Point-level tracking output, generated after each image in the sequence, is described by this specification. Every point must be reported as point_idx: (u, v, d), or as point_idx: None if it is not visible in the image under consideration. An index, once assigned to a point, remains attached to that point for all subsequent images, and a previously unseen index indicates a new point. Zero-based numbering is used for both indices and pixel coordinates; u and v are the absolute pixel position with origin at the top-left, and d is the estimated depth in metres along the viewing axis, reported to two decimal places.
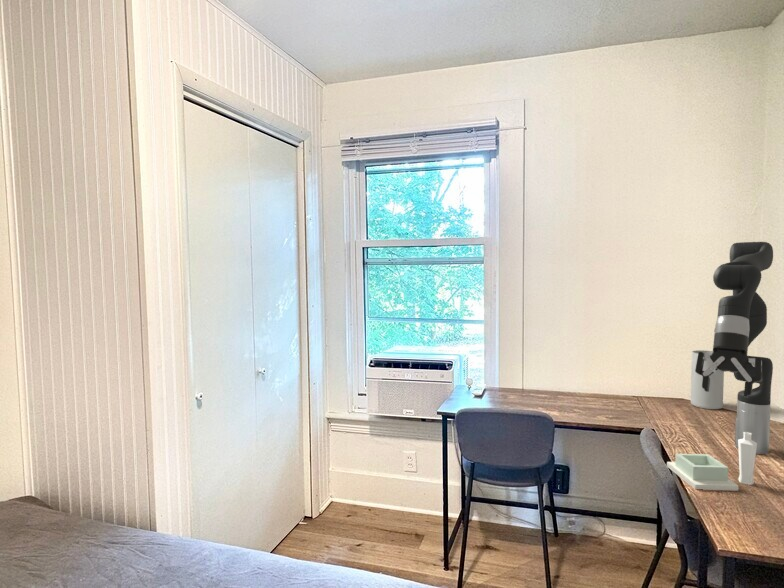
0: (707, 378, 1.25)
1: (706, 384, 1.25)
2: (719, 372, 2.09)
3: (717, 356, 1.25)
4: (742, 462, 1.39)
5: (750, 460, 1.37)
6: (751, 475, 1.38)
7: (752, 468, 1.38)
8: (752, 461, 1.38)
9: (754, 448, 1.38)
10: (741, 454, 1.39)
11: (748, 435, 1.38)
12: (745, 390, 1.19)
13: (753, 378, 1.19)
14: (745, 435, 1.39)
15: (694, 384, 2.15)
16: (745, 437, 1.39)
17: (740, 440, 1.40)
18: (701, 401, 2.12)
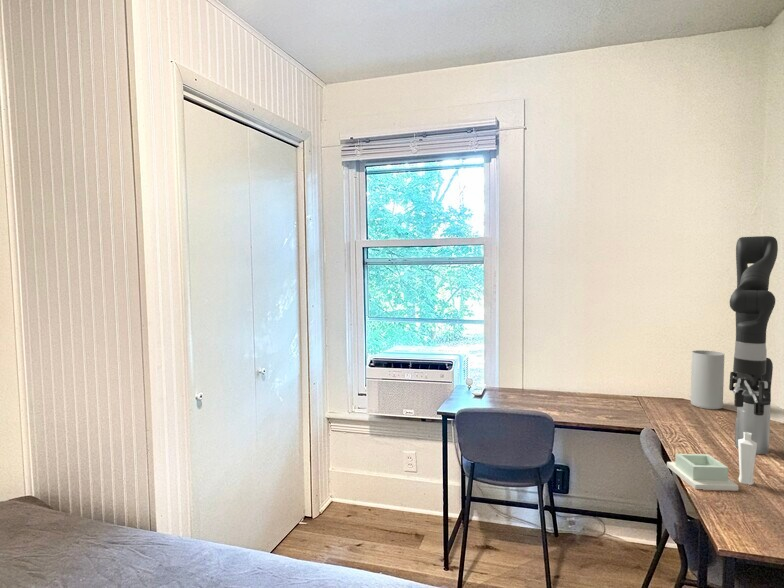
0: (735, 396, 1.43)
1: (735, 401, 1.43)
2: (719, 372, 2.09)
3: (740, 377, 1.41)
4: (742, 462, 1.39)
5: (750, 460, 1.37)
6: (751, 475, 1.38)
7: (752, 468, 1.38)
8: (752, 461, 1.38)
9: (754, 448, 1.38)
10: (741, 454, 1.39)
11: (748, 435, 1.38)
12: (754, 409, 1.35)
13: None
14: (745, 435, 1.39)
15: (694, 384, 2.15)
16: (745, 437, 1.39)
17: (740, 440, 1.40)
18: (701, 401, 2.12)
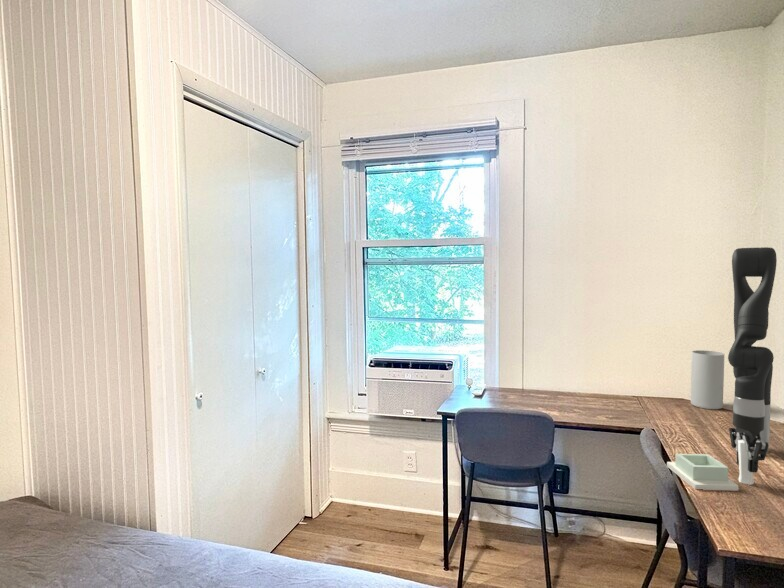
0: (737, 454, 1.42)
1: (737, 459, 1.42)
2: (719, 372, 2.09)
3: (738, 430, 1.42)
4: (742, 462, 1.39)
5: None
6: (751, 475, 1.38)
7: None
8: None
9: (754, 448, 1.38)
10: (740, 454, 1.39)
11: None
12: (748, 466, 1.37)
13: None
14: None
15: (694, 384, 2.15)
16: None
17: (740, 440, 1.40)
18: (701, 401, 2.12)
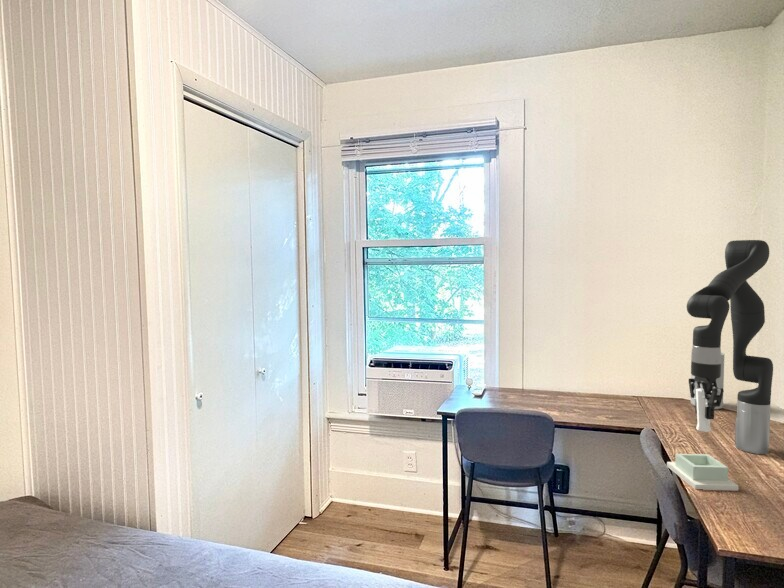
0: (696, 403, 1.44)
1: (695, 408, 1.44)
2: None
3: (696, 379, 1.43)
4: (699, 410, 1.41)
5: None
6: (708, 422, 1.40)
7: None
8: None
9: None
10: (698, 402, 1.41)
11: None
12: (705, 413, 1.39)
13: None
14: None
15: None
16: None
17: (697, 389, 1.42)
18: None
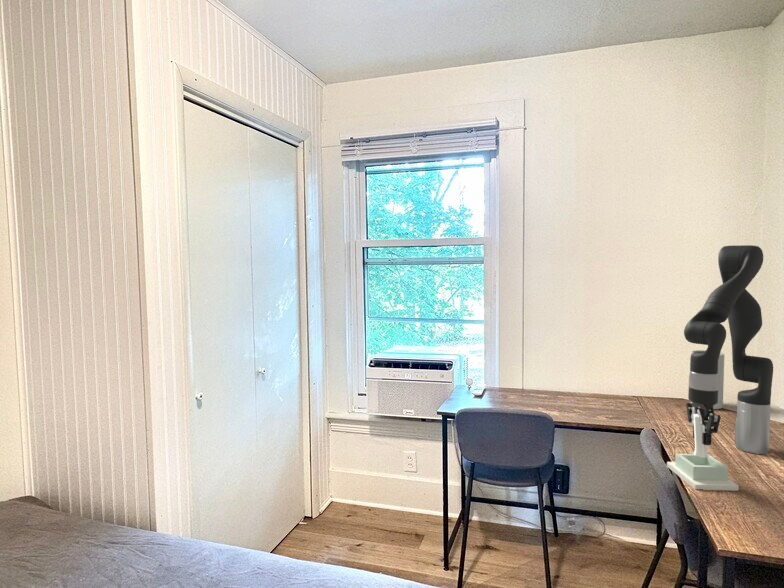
0: (693, 428, 1.45)
1: (693, 433, 1.45)
2: (719, 372, 2.09)
3: (694, 404, 1.44)
4: (697, 435, 1.42)
5: None
6: (705, 448, 1.41)
7: None
8: None
9: None
10: (695, 428, 1.42)
11: None
12: (702, 439, 1.40)
13: None
14: None
15: None
16: None
17: (695, 414, 1.43)
18: None
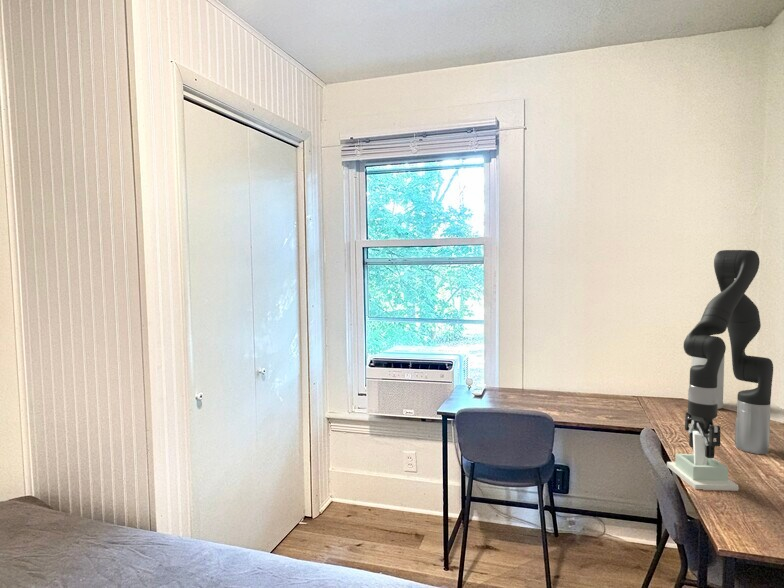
0: (690, 436, 1.46)
1: (689, 441, 1.47)
2: (719, 372, 2.09)
3: (693, 418, 1.44)
4: (696, 453, 1.42)
5: (703, 451, 1.41)
6: None
7: (705, 459, 1.42)
8: None
9: None
10: (695, 445, 1.42)
11: None
12: (705, 452, 1.38)
13: None
14: None
15: None
16: None
17: (694, 431, 1.43)
18: None
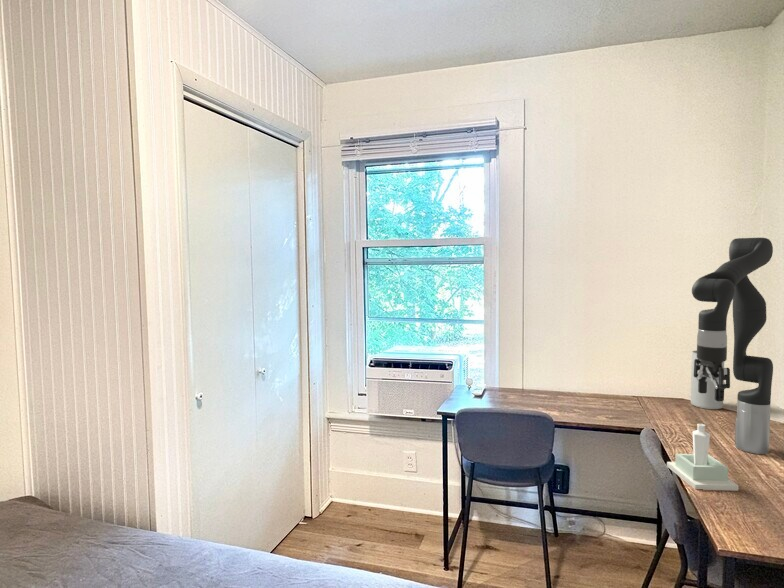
0: (699, 382, 1.46)
1: (698, 387, 1.46)
2: None
3: (702, 364, 1.44)
4: (696, 453, 1.42)
5: (703, 451, 1.41)
6: None
7: (705, 459, 1.42)
8: (706, 452, 1.41)
9: (707, 439, 1.41)
10: (694, 445, 1.42)
11: (701, 426, 1.42)
12: (715, 395, 1.38)
13: None
14: (699, 427, 1.42)
15: (694, 384, 2.15)
16: (699, 428, 1.42)
17: (694, 431, 1.43)
18: (701, 401, 2.12)
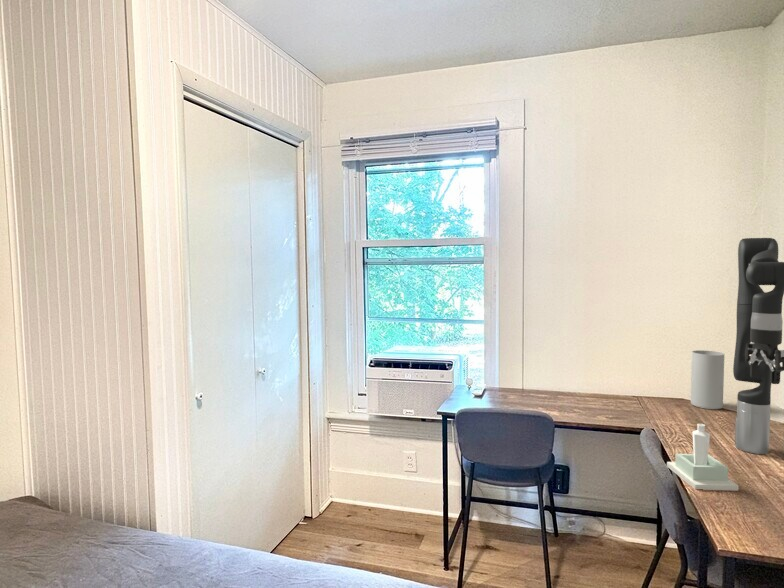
0: (751, 366, 1.46)
1: (751, 371, 1.46)
2: (719, 372, 2.09)
3: (755, 347, 1.44)
4: (696, 453, 1.42)
5: (703, 451, 1.41)
6: None
7: (705, 459, 1.42)
8: (706, 452, 1.41)
9: (707, 439, 1.41)
10: (694, 445, 1.42)
11: (701, 426, 1.42)
12: (770, 378, 1.38)
13: None
14: (699, 427, 1.42)
15: (694, 384, 2.15)
16: (699, 428, 1.42)
17: (694, 431, 1.43)
18: (701, 401, 2.12)
